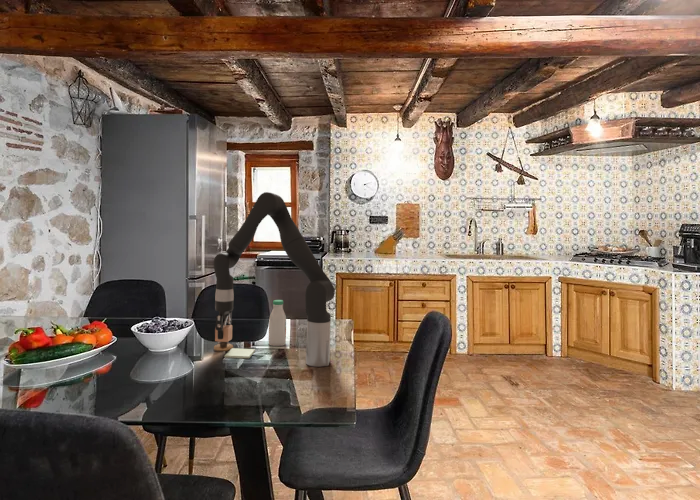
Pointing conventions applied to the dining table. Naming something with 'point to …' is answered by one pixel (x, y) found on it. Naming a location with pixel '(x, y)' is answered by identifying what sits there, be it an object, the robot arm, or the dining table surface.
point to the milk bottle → (277, 324)
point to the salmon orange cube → (225, 334)
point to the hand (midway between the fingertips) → (223, 336)
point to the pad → (240, 353)
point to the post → (223, 346)
